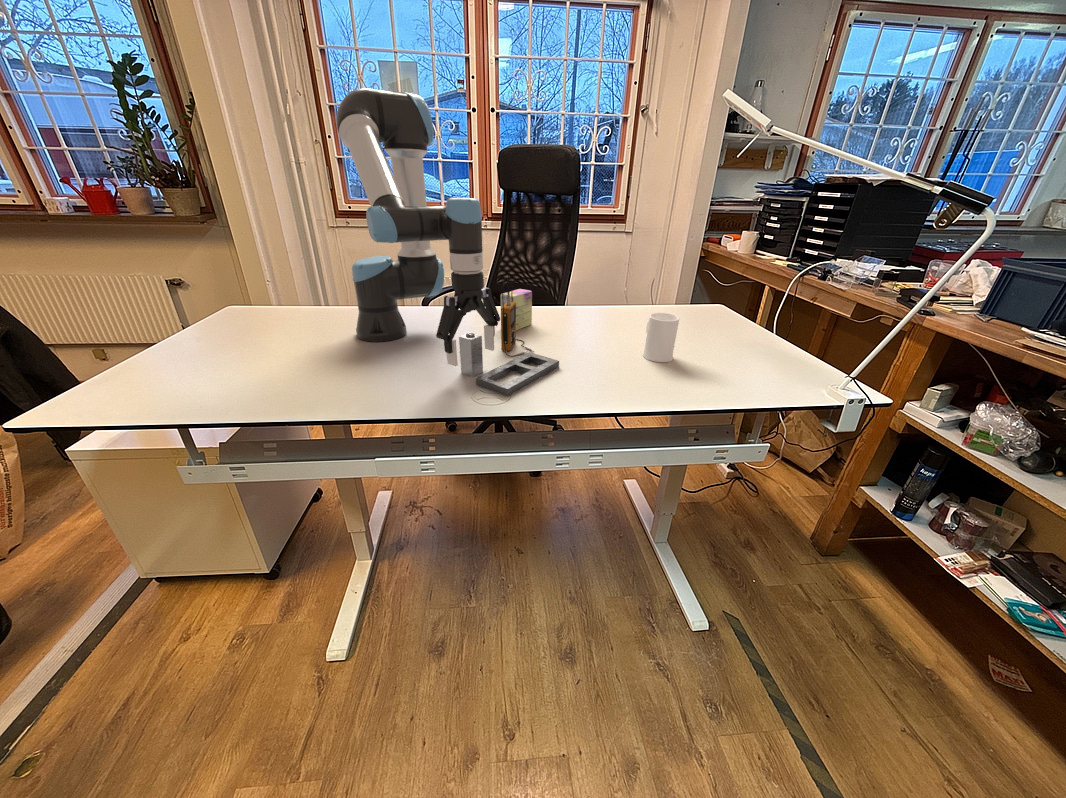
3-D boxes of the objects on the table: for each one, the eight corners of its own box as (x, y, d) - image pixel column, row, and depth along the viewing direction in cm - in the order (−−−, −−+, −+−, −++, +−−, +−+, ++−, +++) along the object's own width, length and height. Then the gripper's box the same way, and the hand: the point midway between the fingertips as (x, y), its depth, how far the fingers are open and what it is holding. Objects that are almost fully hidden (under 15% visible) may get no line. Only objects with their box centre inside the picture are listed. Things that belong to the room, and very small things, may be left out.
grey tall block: (461, 373, 110) (458, 334, 105) (471, 368, 112) (469, 330, 108) (472, 377, 108) (470, 338, 103) (483, 372, 110) (481, 334, 106)
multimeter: (531, 359, 119) (533, 287, 110) (497, 355, 121) (496, 285, 112) (541, 341, 132) (543, 276, 123) (510, 339, 134) (510, 274, 124)
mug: (633, 348, 129) (638, 309, 123) (659, 347, 130) (665, 308, 125) (650, 363, 118) (657, 321, 113) (678, 361, 120) (686, 320, 114)
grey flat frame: (476, 385, 103) (475, 377, 102) (529, 358, 119) (529, 352, 118) (507, 396, 98) (507, 389, 97) (558, 367, 114) (559, 360, 113)
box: (519, 321, 150) (519, 288, 145) (531, 324, 148) (532, 290, 142) (500, 328, 143) (499, 293, 137) (513, 332, 140) (513, 296, 135)
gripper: (438, 281, 87) (446, 375, 97) (513, 266, 105) (513, 346, 115) (414, 277, 91) (424, 367, 101) (490, 262, 109) (492, 341, 119)
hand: (471, 356), depth 108 cm, fingers open, 13 cm apart
